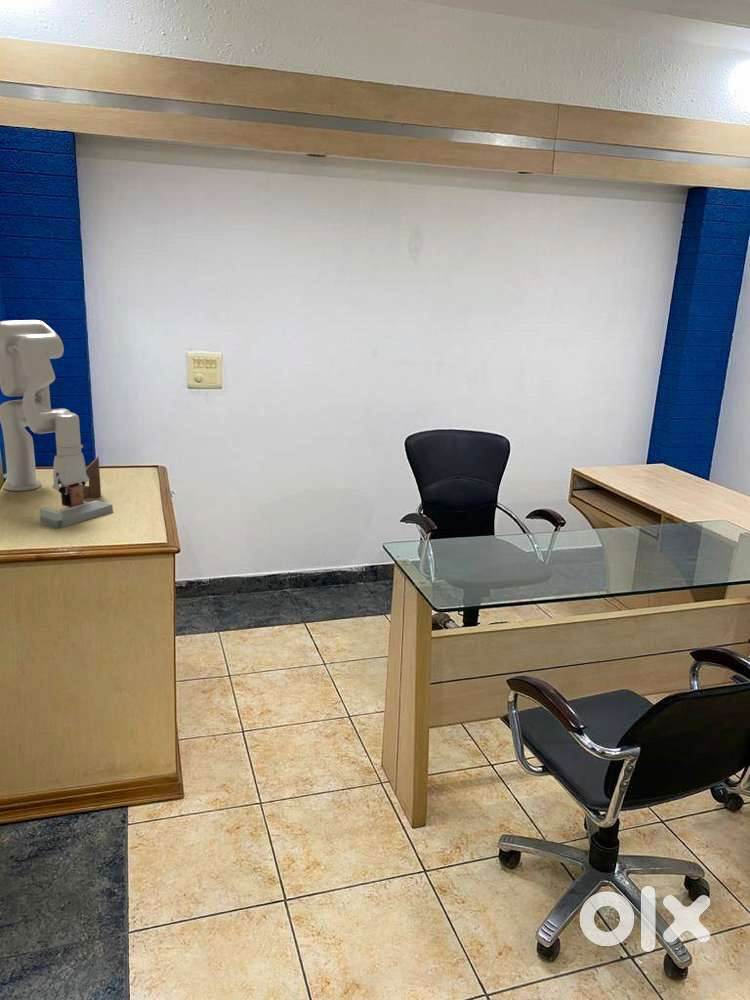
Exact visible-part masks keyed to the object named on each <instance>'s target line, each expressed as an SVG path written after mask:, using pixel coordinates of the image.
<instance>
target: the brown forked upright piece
mask: <svg viewBox="0 0 750 1000" xmlns="http://www.w3.org/2000/svg"><path fill="white" fill-rule="evenodd" d="M86 475H87V476H88V477H89V481H88V485H85V486H84V487H83V494H84V497H83V498H100V497H101V495H102V487H101V475H100V459H99V456H97V457H96V458H94V459H93V461H92V462H91V463H89V465H88V466H86Z"/></svg>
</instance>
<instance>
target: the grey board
mask: <svg viewBox="0 0 750 1000" xmlns="http://www.w3.org/2000/svg"><path fill="white" fill-rule="evenodd" d="M113 506H114V505H113V504H111V503H107V502H104V501H101V500H97V499H96V500H92V501H88V502H84V504H81V505H78V506H74V507H71V508H70V507H67V508H64V509H61V510H56V509H52V508H50V507H49V508H48V507H46V506H45V507H41V508H39V515H40V516H39V519H40V524H41V525H44V526H47V527H50V526H51V528H53V527H54V529H57V528H59V529H62V528H65V527H67V526H71V524H72V525H75V524H78V523H82V522H84V520H85V521H88V520H90V519H94V518H97V517H100V516H103V515H107V514H109V513H113V512H114V510H113V509H114V507H113ZM87 519H88V520H87ZM77 522H78V523H77ZM74 523H75V524H74ZM64 526H65V527H64ZM61 527H62V528H61Z"/></svg>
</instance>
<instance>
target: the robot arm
mask: <svg viewBox="0 0 750 1000" xmlns="http://www.w3.org/2000/svg"><path fill="white" fill-rule="evenodd" d="M64 350H65V348H64V344H63V341H62V339H61V338H60V336H59V335H58V333H57V332H56V331H55V330H53V329H52V328H51V327H50V326H49V325H48V324H46V322H44V321H42V320H40V319H39V320H38V319H23V320H22V319H21V320H19V319H18V320H17V319H13V320H12V319H11V320H1V321H0V390H1V393H2V394H3V395H4V396H6V397H10V398H11V397H13V398H14V397H23V398H22V399H14V400H13V399H12V400H7V401H5V402H2V403H1V404H0V425H1V429H2V435H3V436H2V437H3V443H4V444H3V445H4V454H5V464H6V473H4V474H3V475H2V476H3V479H6V482H4V483H3V488H4V489H5V490H7V491H11V492H25V491H32V490H36V489H39V488H40V487H41V486H42V481H40V480H39V479H37V473H36V472H37V471H36V470H37V469H36V459H35V447H34V446H35V445H34V440H33V436H32V435H31V434H30V432H28V430H27V429H26V427H28V428H29V429H30V431H32V432H33V434H36V435H37V434H38V435H42V434H49V433H50V434H51V433H55V446H56V447H55V448H56V455H54V459H53V469H52V471H53V473H52V474H53V475H52V476H53V485H52V489H54V490H57V491H58V492H59V494H60V495H61V494H62V500H61V502H62V501H63V505H66V506H65V507H67V506H70V505H71V502H70V494H68V493H69V485H73V484H78V485H81V486H82V487H84V486H86V484H87V483H89V477H88V476H87V475H86V468H87V466H86V462H85V456H84V454H83V453H82V449H83V448H84V445H83V444H81V432H80V430H81V429H80V417H79V415H78V414H76V413H74V412H72V411H70V410H69V409H67V408H65V407H64V408H61V407H60V408H52V407H51V405H52V404H51V396H50V385H51V384H52V383H53V382H54V381H55V380H56V375H55V371H54V368H53V366H52V363H51V360H52V359H53V360H54V359H60V358H61V357H62V356H63V355H64V352H65V351H64ZM50 359H51V360H50ZM60 485H61V486H60ZM64 487H65V490H64ZM63 505H62V506H63Z"/></svg>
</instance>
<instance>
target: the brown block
mask: <svg viewBox="0 0 750 1000" xmlns="http://www.w3.org/2000/svg"><path fill="white" fill-rule="evenodd" d="M60 486H61V484H59V487H60ZM64 490H65V487H64ZM68 494H70V502H71V505H70V506H66V505H63V501H62V494H61V493H60V496H61V497H60V498H61V505H62V506H64V507H67V508H71V507H74V506H78V505H81V504H84V503H85V502H84V498H85V497H84V494H83V487H82V486H81V485H78V484H73V485H69V493H68Z"/></svg>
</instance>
